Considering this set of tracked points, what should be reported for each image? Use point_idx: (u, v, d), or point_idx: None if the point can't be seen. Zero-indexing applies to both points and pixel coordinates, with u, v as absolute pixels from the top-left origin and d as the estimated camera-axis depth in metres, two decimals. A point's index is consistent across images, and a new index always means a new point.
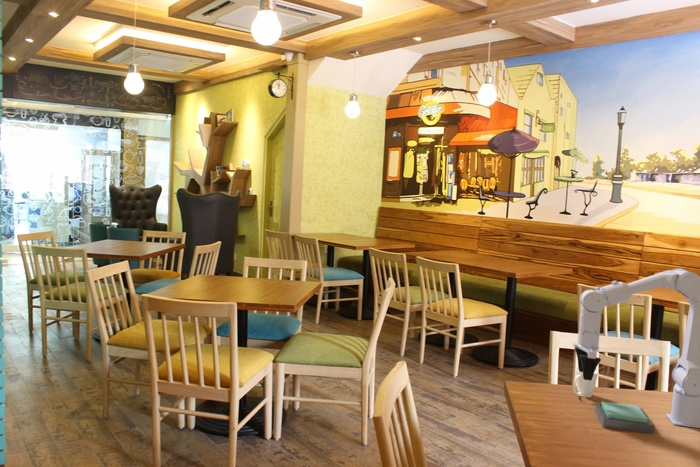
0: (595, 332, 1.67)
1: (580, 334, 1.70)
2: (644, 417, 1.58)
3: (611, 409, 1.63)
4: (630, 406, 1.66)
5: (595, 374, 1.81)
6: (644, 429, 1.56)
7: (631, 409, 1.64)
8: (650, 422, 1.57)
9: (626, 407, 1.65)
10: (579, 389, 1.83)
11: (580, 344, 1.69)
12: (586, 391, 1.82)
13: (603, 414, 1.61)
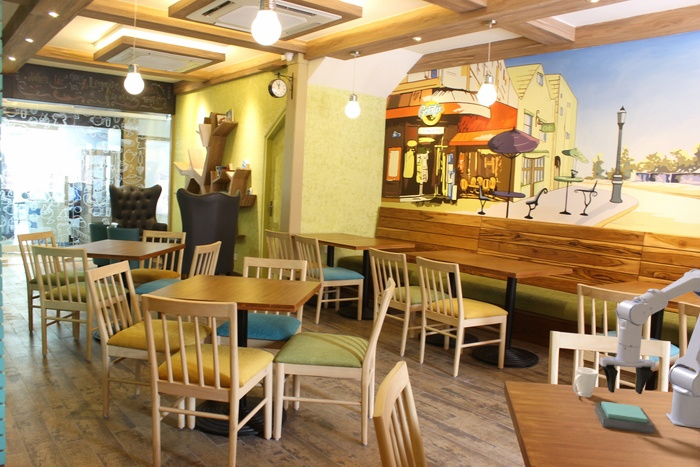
0: (639, 346, 1.57)
1: None
2: (644, 417, 1.58)
3: (611, 409, 1.63)
4: (630, 406, 1.66)
5: (595, 374, 1.81)
6: (644, 429, 1.56)
7: (631, 409, 1.64)
8: (650, 422, 1.57)
9: (626, 407, 1.65)
10: (579, 389, 1.83)
11: None
12: (586, 391, 1.82)
13: (603, 414, 1.61)
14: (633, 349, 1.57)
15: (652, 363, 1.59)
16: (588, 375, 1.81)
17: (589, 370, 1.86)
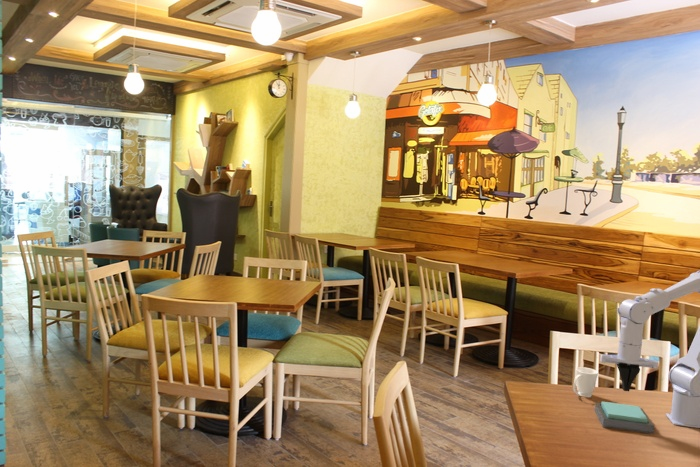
0: (640, 344, 1.59)
1: None
2: (644, 417, 1.58)
3: (611, 409, 1.63)
4: (630, 406, 1.66)
5: (595, 374, 1.81)
6: (644, 429, 1.56)
7: (631, 409, 1.64)
8: (650, 422, 1.57)
9: (626, 407, 1.65)
10: (579, 389, 1.83)
11: None
12: (586, 391, 1.82)
13: (603, 414, 1.61)
14: (632, 347, 1.59)
15: (654, 363, 1.59)
16: (588, 375, 1.81)
17: (589, 370, 1.86)
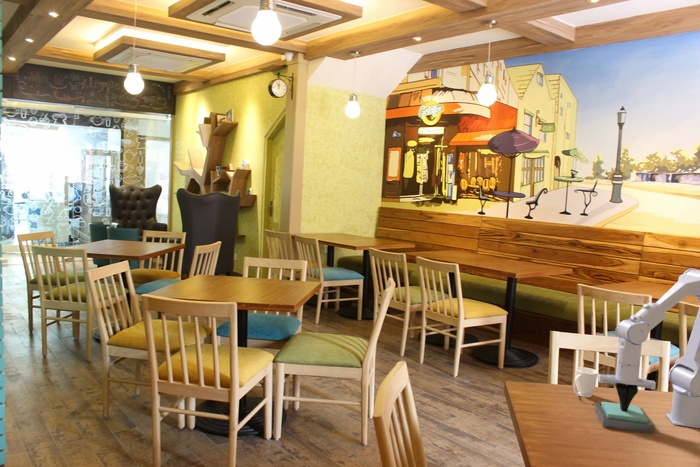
0: (638, 365, 1.60)
1: None
2: (644, 417, 1.58)
3: (611, 409, 1.63)
4: (630, 406, 1.66)
5: (595, 374, 1.81)
6: (644, 429, 1.56)
7: (631, 409, 1.64)
8: (650, 422, 1.57)
9: None
10: (579, 389, 1.83)
11: None
12: (586, 391, 1.82)
13: (603, 414, 1.61)
14: (630, 368, 1.59)
15: (652, 383, 1.60)
16: (588, 375, 1.81)
17: (589, 370, 1.86)
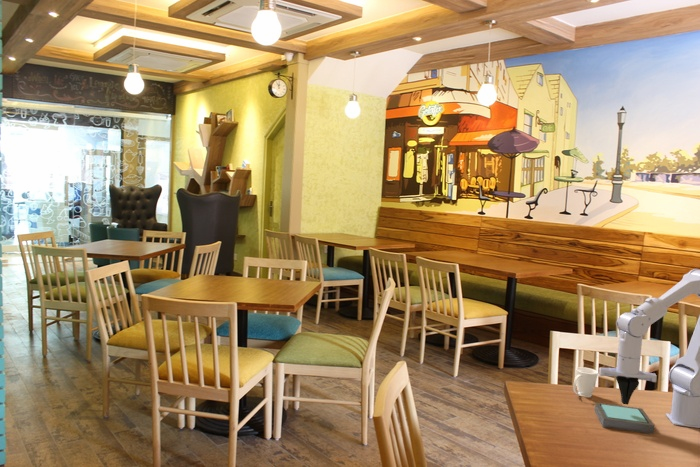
0: (638, 357, 1.59)
1: None
2: (644, 420, 1.58)
3: (611, 412, 1.63)
4: (630, 409, 1.66)
5: (595, 374, 1.81)
6: (644, 429, 1.56)
7: (630, 412, 1.64)
8: (650, 422, 1.57)
9: (626, 410, 1.65)
10: (579, 389, 1.83)
11: None
12: (586, 391, 1.82)
13: (603, 414, 1.61)
14: (630, 361, 1.59)
15: (653, 376, 1.60)
16: (588, 375, 1.81)
17: (589, 370, 1.86)
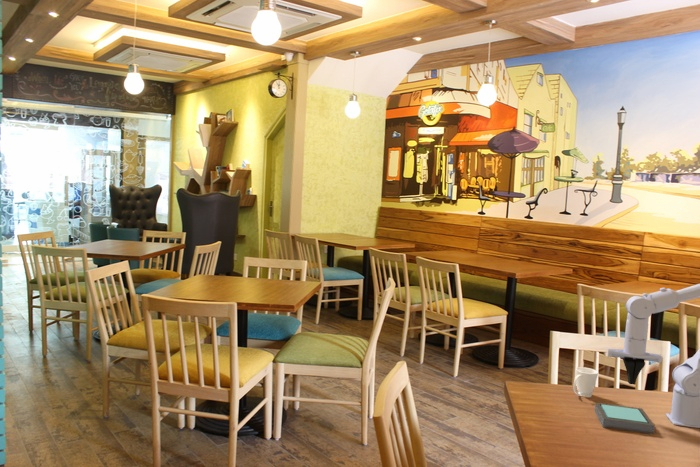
0: (642, 339, 1.65)
1: None
2: (644, 420, 1.58)
3: (611, 412, 1.63)
4: (630, 409, 1.66)
5: (595, 374, 1.81)
6: (644, 429, 1.56)
7: (630, 412, 1.64)
8: (650, 422, 1.57)
9: (626, 410, 1.65)
10: (579, 389, 1.83)
11: None
12: (586, 391, 1.82)
13: (603, 414, 1.61)
14: (637, 342, 1.65)
15: (659, 357, 1.65)
16: (588, 375, 1.81)
17: (589, 370, 1.86)
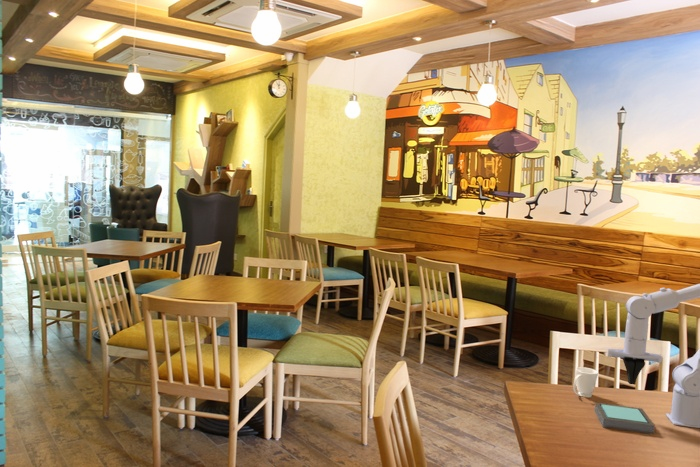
0: (642, 339, 1.65)
1: None
2: (644, 420, 1.58)
3: (611, 412, 1.63)
4: (630, 409, 1.66)
5: (595, 374, 1.81)
6: (644, 429, 1.56)
7: (630, 412, 1.64)
8: (650, 422, 1.57)
9: (626, 410, 1.65)
10: (579, 389, 1.83)
11: None
12: (586, 391, 1.82)
13: (603, 414, 1.61)
14: (637, 342, 1.65)
15: (659, 357, 1.65)
16: (588, 375, 1.81)
17: (589, 370, 1.86)
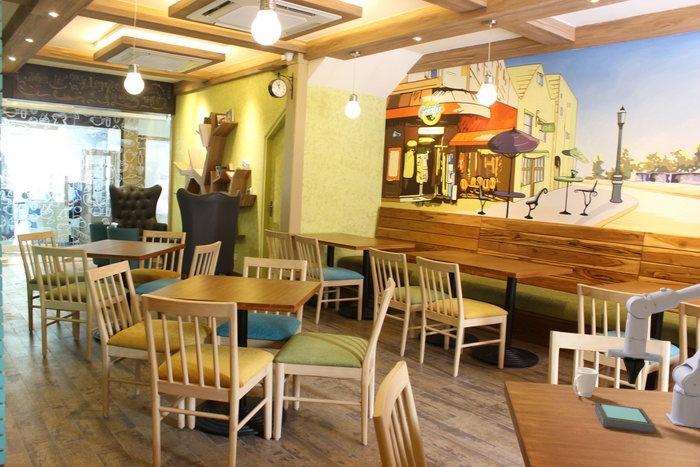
0: (642, 339, 1.65)
1: None
2: (644, 420, 1.58)
3: (611, 412, 1.63)
4: (630, 409, 1.66)
5: (595, 374, 1.81)
6: (644, 429, 1.56)
7: (630, 412, 1.64)
8: (650, 422, 1.57)
9: (626, 410, 1.65)
10: (579, 389, 1.83)
11: None
12: (586, 391, 1.82)
13: (603, 414, 1.61)
14: (637, 342, 1.65)
15: (659, 357, 1.65)
16: (588, 375, 1.81)
17: (589, 370, 1.86)
